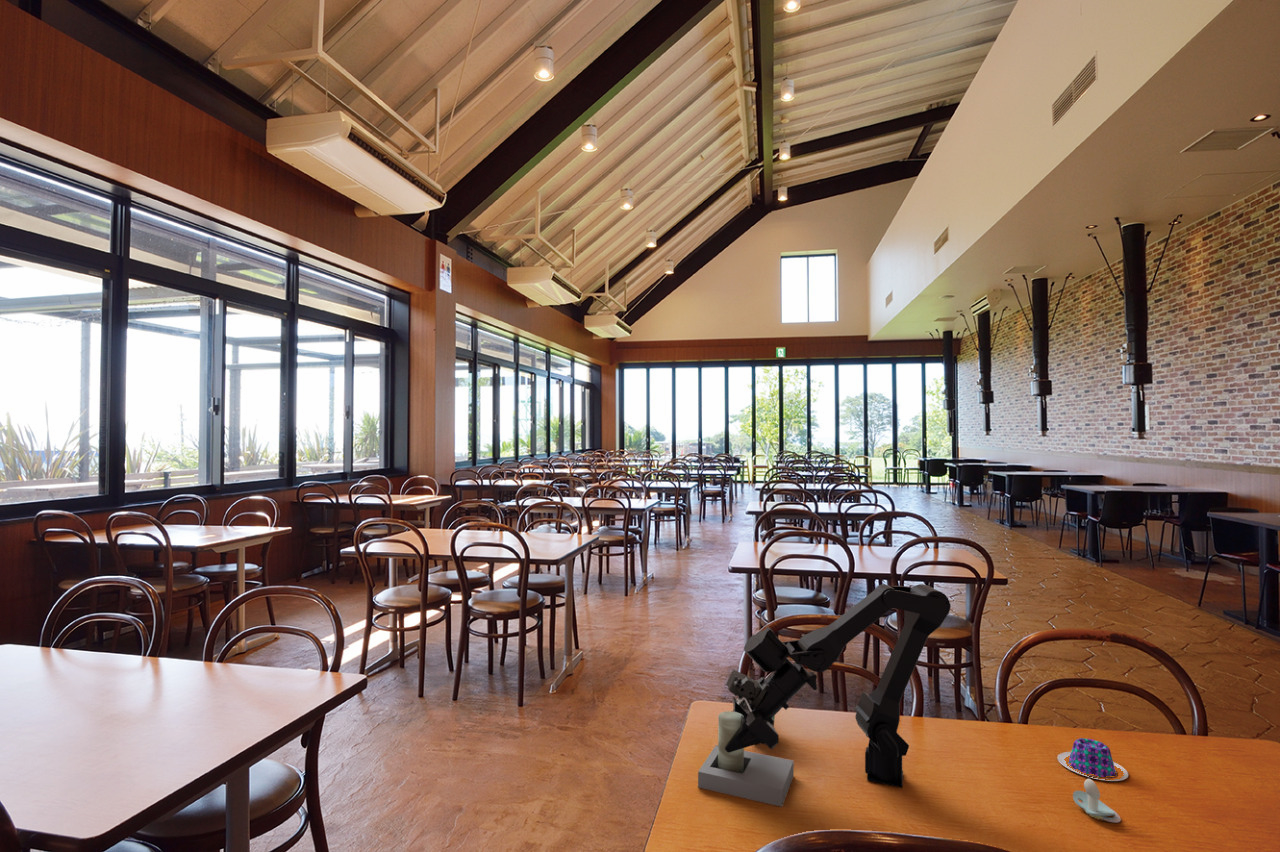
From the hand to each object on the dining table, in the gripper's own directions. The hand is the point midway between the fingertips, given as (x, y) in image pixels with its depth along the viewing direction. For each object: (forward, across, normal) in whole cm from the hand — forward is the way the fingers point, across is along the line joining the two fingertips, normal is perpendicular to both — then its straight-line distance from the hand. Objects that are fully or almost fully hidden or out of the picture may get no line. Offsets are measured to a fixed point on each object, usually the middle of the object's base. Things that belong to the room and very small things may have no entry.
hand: (723, 744), depth 128 cm
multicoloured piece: (-49, -3, +60) cm, 77 cm away
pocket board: (+2, +1, +8) cm, 8 cm away
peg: (+4, 0, +6) cm, 7 cm away
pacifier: (-42, +13, +52) cm, 67 cm away
